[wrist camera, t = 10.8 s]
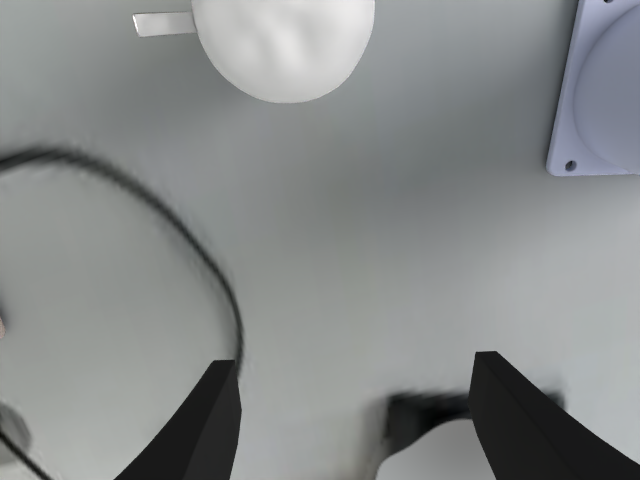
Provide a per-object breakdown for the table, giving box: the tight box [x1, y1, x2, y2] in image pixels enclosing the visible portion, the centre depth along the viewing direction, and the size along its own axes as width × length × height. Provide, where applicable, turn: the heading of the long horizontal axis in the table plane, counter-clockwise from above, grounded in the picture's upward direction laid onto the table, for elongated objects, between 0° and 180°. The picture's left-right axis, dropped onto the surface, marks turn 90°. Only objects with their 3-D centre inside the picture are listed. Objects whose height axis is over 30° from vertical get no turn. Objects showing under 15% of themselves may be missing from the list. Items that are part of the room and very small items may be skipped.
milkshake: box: [132, 0, 375, 103], centre depth 14 cm, size 4×5×10 cm
